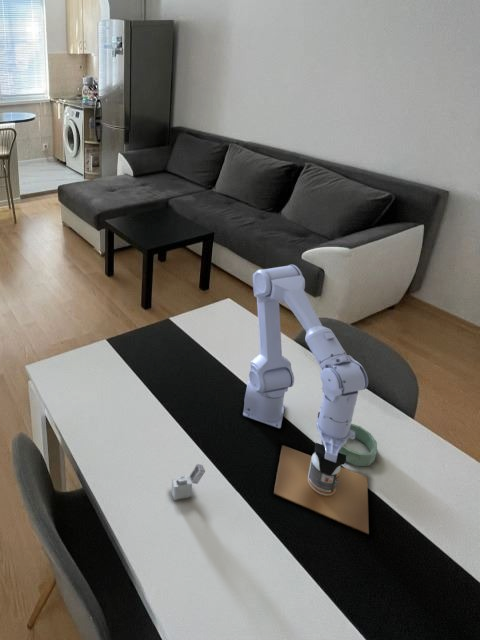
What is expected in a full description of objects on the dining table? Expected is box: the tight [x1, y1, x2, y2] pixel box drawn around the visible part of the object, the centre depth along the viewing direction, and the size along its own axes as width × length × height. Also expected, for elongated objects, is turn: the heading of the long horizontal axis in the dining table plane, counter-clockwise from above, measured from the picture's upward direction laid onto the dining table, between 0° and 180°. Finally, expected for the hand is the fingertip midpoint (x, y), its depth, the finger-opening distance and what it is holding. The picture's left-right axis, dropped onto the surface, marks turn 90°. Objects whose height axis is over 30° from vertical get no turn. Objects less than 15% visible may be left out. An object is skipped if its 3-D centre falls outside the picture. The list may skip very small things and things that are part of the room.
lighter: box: [171, 463, 206, 501], centre depth 96 cm, size 7×2×8 cm, turn 99°
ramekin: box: [339, 423, 378, 467], centre depth 105 cm, size 9×9×4 cm
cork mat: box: [273, 444, 370, 535], centre depth 97 cm, size 18×14×1 cm
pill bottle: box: [308, 443, 341, 496], centre depth 95 cm, size 6×6×10 cm
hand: (326, 458), depth 94 cm, fingers open, 7 cm apart
